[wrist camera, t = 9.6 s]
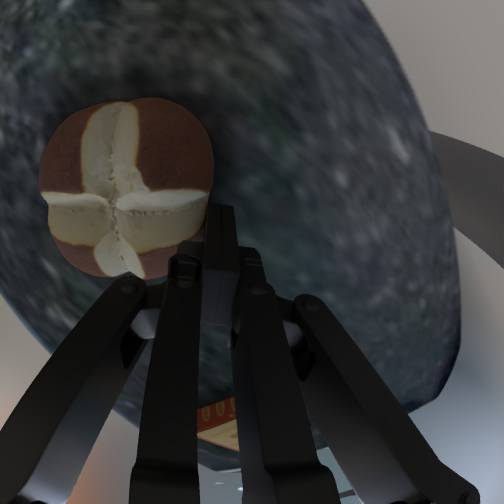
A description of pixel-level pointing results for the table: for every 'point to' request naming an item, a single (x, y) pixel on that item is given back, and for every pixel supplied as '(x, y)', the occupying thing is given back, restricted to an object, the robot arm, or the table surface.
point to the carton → (219, 424)
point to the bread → (127, 185)
